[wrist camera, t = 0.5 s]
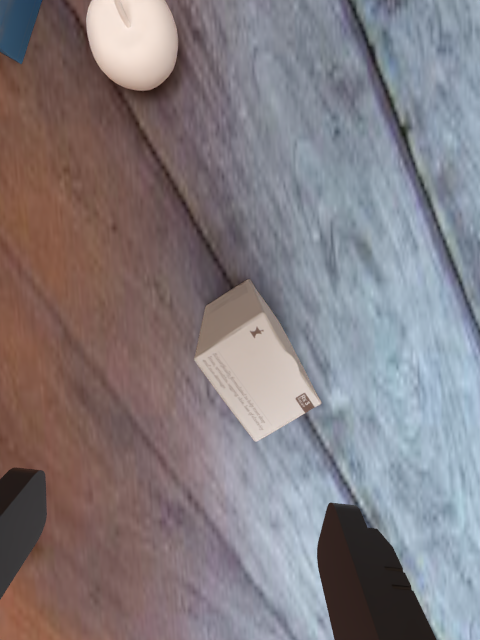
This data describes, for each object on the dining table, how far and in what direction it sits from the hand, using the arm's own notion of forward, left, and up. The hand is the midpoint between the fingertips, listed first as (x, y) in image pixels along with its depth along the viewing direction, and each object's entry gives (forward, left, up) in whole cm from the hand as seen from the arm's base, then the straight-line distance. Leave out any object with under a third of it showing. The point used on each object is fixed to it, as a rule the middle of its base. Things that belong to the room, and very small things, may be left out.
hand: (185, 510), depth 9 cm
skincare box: (+2, +3, -28) cm, 28 cm away
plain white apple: (-21, -10, -28) cm, 36 cm away
